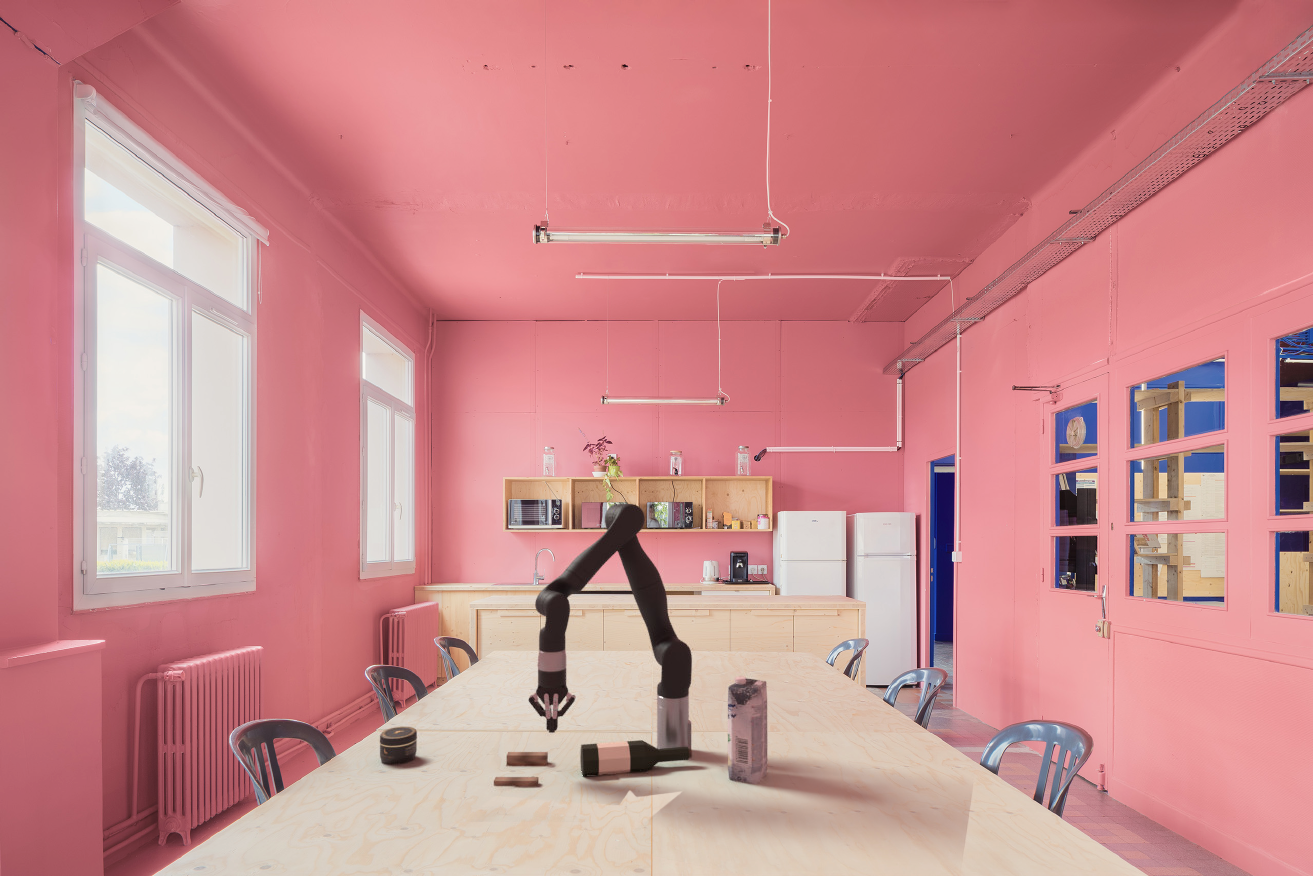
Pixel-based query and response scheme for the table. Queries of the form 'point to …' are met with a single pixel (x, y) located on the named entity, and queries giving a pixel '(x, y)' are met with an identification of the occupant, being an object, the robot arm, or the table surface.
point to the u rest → (523, 760)
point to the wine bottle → (626, 757)
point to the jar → (398, 745)
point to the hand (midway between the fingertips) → (552, 731)
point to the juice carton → (747, 730)
